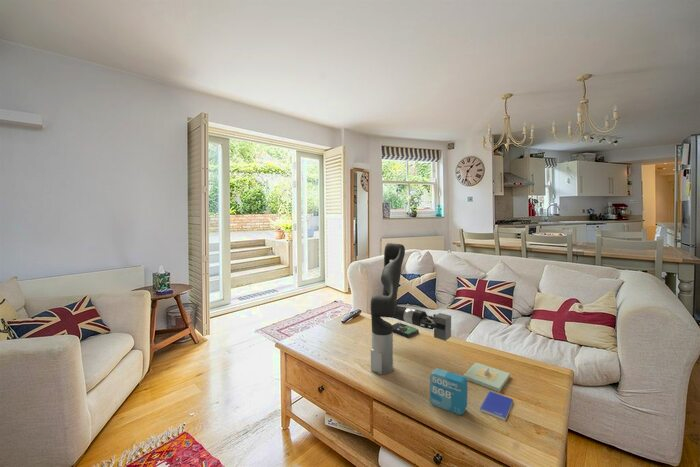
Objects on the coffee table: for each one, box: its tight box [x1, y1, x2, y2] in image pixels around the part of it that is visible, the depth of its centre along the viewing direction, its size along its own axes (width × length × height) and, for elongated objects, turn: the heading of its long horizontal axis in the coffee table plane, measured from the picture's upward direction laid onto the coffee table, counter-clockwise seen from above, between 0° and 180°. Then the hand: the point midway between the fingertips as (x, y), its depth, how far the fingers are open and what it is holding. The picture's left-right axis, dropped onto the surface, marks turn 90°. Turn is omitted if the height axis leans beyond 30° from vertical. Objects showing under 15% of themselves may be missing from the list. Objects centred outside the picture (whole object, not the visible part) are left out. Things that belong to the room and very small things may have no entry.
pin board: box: [462, 362, 511, 393], centre depth 125 cm, size 14×14×4 cm
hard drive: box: [479, 391, 514, 421], centre depth 108 cm, size 2×8×12 cm
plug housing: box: [433, 312, 452, 341], centre depth 137 cm, size 6×6×10 cm
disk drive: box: [391, 322, 419, 339], centre depth 173 cm, size 10×3×15 cm
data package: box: [429, 368, 468, 416], centre depth 107 cm, size 12×4×12 cm, turn 54°
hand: (447, 325), depth 136 cm, fingers closed on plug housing, 5 cm apart
